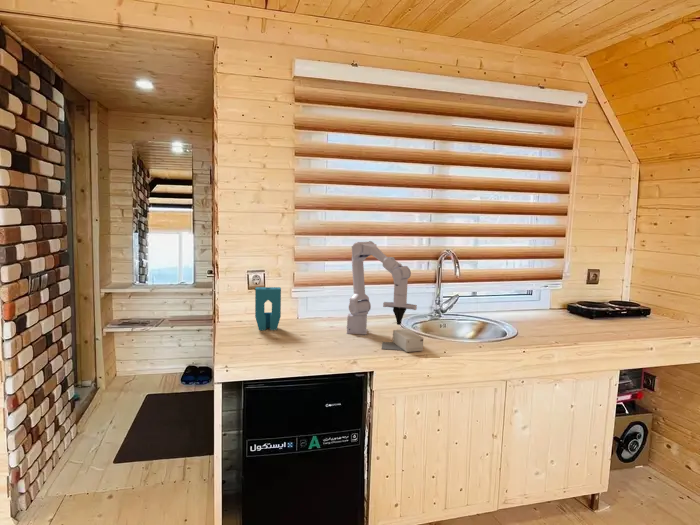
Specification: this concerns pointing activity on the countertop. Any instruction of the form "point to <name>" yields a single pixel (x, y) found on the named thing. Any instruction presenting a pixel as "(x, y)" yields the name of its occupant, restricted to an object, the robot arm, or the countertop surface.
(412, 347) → the skincare box
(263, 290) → the block
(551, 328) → the countertop surface
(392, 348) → the mat
